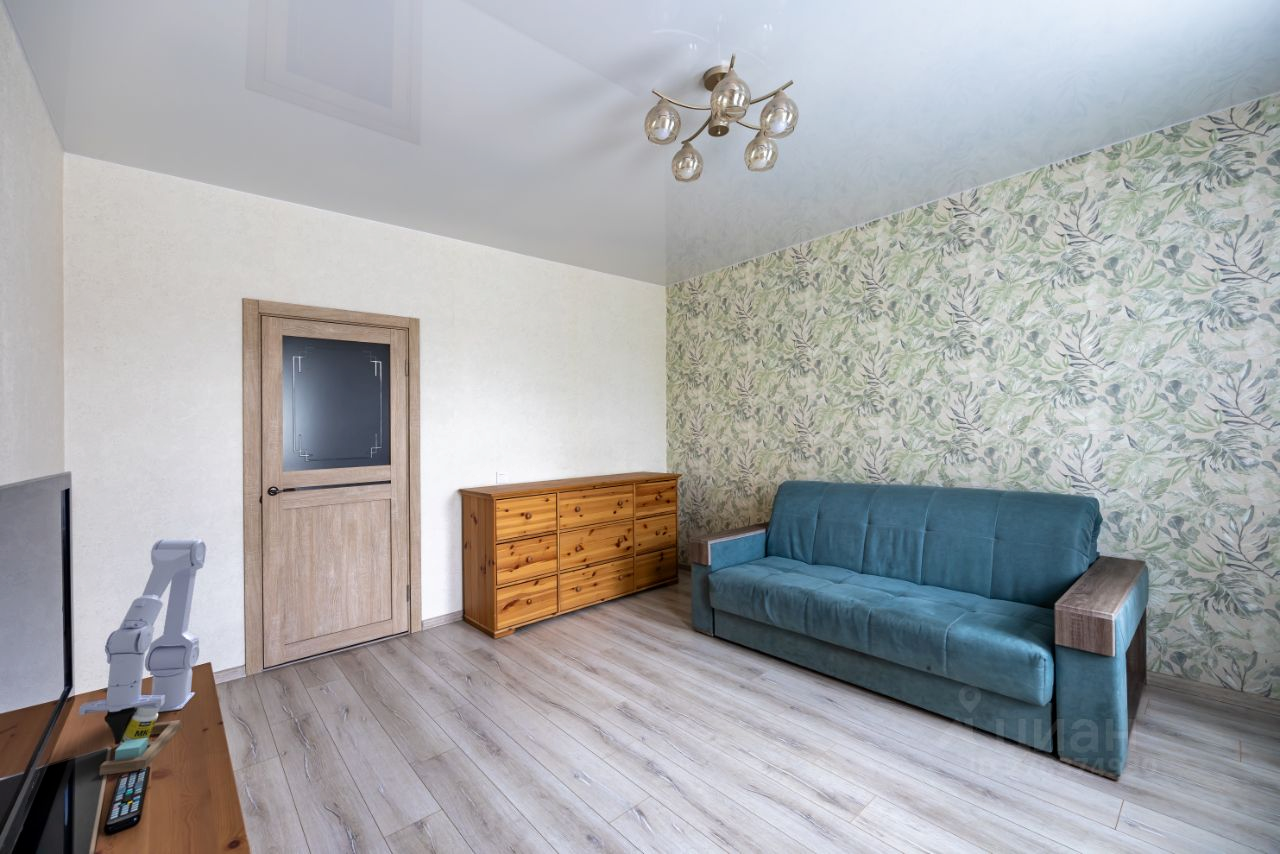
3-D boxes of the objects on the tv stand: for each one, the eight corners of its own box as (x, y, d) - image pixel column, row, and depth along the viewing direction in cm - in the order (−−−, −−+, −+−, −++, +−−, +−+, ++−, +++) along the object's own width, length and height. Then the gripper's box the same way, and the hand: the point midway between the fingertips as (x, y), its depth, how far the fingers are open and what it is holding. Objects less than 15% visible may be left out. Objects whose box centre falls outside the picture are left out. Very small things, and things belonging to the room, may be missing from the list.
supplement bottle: (128, 750, 119) (144, 712, 120) (115, 741, 121) (131, 704, 122) (151, 743, 124) (167, 706, 125) (139, 734, 125) (154, 698, 126)
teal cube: (123, 759, 117) (125, 740, 117) (146, 755, 119) (148, 737, 119) (113, 769, 113) (115, 750, 114) (137, 766, 115) (139, 747, 115)
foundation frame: (140, 733, 127) (141, 724, 127) (179, 728, 130) (180, 720, 130) (99, 775, 111) (100, 765, 111) (145, 769, 114) (145, 759, 114)
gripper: (73, 692, 116) (66, 756, 115) (157, 684, 121) (151, 745, 120) (91, 679, 122) (85, 739, 121) (170, 672, 128) (165, 730, 127)
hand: (119, 741), depth 121 cm, fingers closed, pressing on supplement bottle
